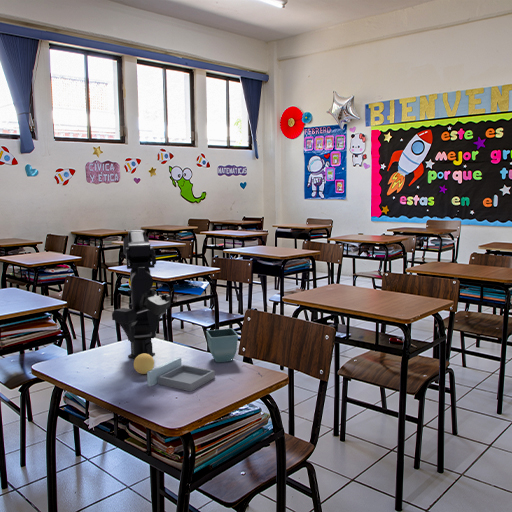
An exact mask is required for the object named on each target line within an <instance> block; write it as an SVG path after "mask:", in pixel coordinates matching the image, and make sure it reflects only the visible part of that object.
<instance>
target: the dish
mask: <svg viewBox="0 0 512 512" xmlns="http://www.w3.org/2000/svg"><path fill="white" fill-rule="evenodd" d="M215 373H216V371H215V370H214V369H213V370H212V369H210V368H209V369H208V368H203V367H197V366H193V365H187V364H182V365H181V366H179V367H177V368H175V369H173V370H171V371H169V372H167V373H165V374H163V375H161V376H159V377H158V383H157V384H158V385H161V386H166V387H169V388H175V389H177V390H178V389H179V390H184V391H188V392H192V391H195V390H196V389H197V388H199V387H202V386H203V385H204V384H207V383H208V382H210V381H212V380H213V379H215V378H216V377H215V375H216V374H215Z"/></svg>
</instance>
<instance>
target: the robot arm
mask: <svg viewBox="0 0 512 512" xmlns="http://www.w3.org/2000/svg"><path fill="white" fill-rule="evenodd" d="M122 245H123V255H125V261H126V269H127V270H129V272H130V276H129V277H130V289H128V290H127V293H128V294H129V295H130V296H131V297H130V298H131V303H128V308H127V307H121V308H117V309H114V310H113V312H111V320H112V321H115V323H118V324H119V326H120V327H121V328H122V330H123V331H124V333H125V335H126V337H127V341H129V343H130V352H131V353H130V354H128V355H127V357H128V358H131V359H135V358H136V357H137V356H138V355H140V354H143V353H146V354H149V355H151V356H152V357H153V356H155V355H156V353H155V352H153V342H152V339H155V338H156V337H157V336H156V335H157V334H156V333H157V329H158V326H159V322H160V320H161V317H162V316H163V315H164V314H166V313H167V310H170V306H171V301H172V300H171V295H170V294H168V293H165V294H162V295H156V291H155V289H154V288H152V287H153V285H154V279H153V277H152V275H151V269H153V268H154V269H155V265H157V258H156V250H155V249H154V247H153V246H151V242H150V240H149V237H148V236H147V235H145V230H142V229H137V230H135V229H134V230H129V231H128V234H127V235H126V236H125V237H124V238H123V239H122Z"/></svg>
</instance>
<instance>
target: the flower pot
mask: <svg viewBox="0 0 512 512" xmlns="http://www.w3.org/2000/svg"><path fill="white" fill-rule="evenodd" d="M205 333H206V340H207V345H208V349H209V352H210V354H211V356H212V358H213V359H214V361H215V363H216V364H217V363H224V362H232V361H233V360H234V359H235V357H236V353H237V349H238V342H239V340H238V339H239V335H238V333H237V332H236V331H235V330H234V328H221V329H213V330H212V329H211V330H210V329H209V330H206V331H205ZM231 359H232V360H231Z"/></svg>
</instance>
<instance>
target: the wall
mask: <svg viewBox="0 0 512 512" xmlns="http://www.w3.org/2000/svg"><path fill="white" fill-rule="evenodd" d="M181 365H183V362H182V357H176V358H175V359H172V360H169V361H168V362H165V363H164V364H161V365H159V366H157V367H153V369H152V370H150V371H148V372H147V374H146V375H147V379H146V380H147V387H152V386H154V385H156V384H158V377H159V376H161V375H163V374H165V373H167V372H169V371H171V370H173V369H175V368H177V367H179V366H181Z"/></svg>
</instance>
